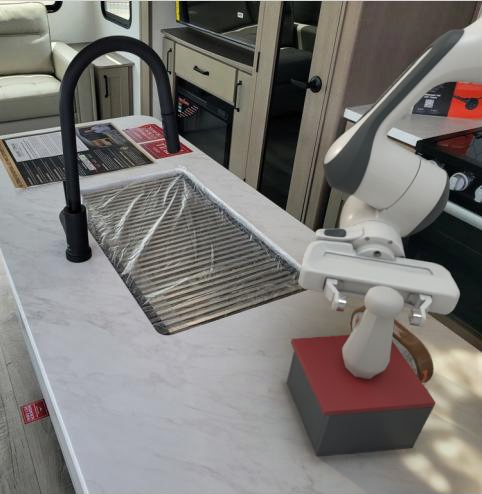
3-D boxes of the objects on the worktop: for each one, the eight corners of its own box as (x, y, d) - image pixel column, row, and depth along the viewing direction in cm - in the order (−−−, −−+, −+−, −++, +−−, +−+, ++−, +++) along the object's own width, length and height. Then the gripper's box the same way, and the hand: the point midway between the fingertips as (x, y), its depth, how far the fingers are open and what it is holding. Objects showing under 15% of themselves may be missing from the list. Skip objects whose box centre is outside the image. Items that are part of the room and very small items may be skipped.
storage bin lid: (323, 416, 59) (325, 411, 59) (290, 342, 70) (291, 338, 69) (433, 406, 60) (436, 402, 60) (384, 336, 71) (386, 331, 70)
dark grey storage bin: (316, 456, 64) (330, 415, 59) (286, 382, 74) (295, 342, 70) (412, 448, 65) (433, 407, 60) (369, 376, 76) (384, 336, 71)
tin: (425, 393, 73) (443, 355, 68) (409, 400, 72) (427, 361, 67) (356, 329, 84) (368, 292, 80) (342, 334, 83) (353, 297, 79)
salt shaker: (348, 345, 68) (371, 272, 61) (389, 364, 65) (419, 290, 58) (332, 369, 64) (354, 295, 57) (375, 391, 61) (404, 316, 54)
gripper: (440, 284, 71) (459, 350, 60) (299, 261, 76) (293, 317, 65) (455, 249, 67) (478, 312, 56) (306, 227, 72) (301, 280, 62)
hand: (377, 314), depth 61 cm, fingers open, 8 cm apart
